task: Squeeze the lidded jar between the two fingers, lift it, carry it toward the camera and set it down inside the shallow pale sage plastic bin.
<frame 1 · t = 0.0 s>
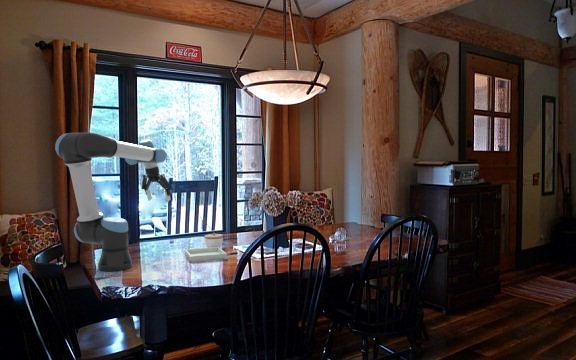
hand: (159, 200, 245), 28 cm above the table, tool tilted 20°, fingers open, 13 cm apart
sage bin: (205, 257, 218), on the table
lidded jar: (213, 249, 240), on the table
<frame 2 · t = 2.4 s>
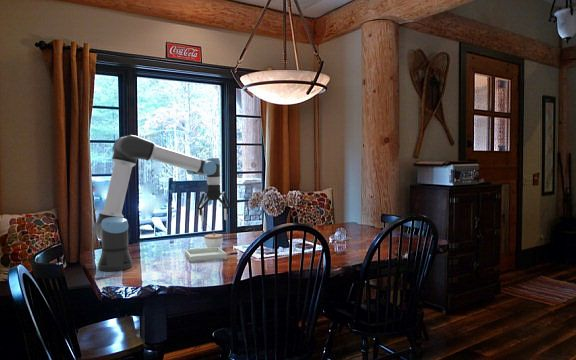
hand: (214, 220, 239), 16 cm above the table, tool pointing down, fingers open, 13 cm apart
nothing on the table moved.
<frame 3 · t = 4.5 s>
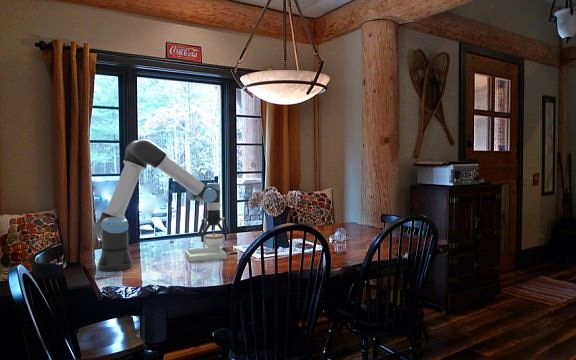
hand: (213, 246, 240), 1 cm above the table, tool pointing down, fingers closed on lidded jar, 11 cm apart
lidded jar: (213, 248, 240), on the table, touching gripper
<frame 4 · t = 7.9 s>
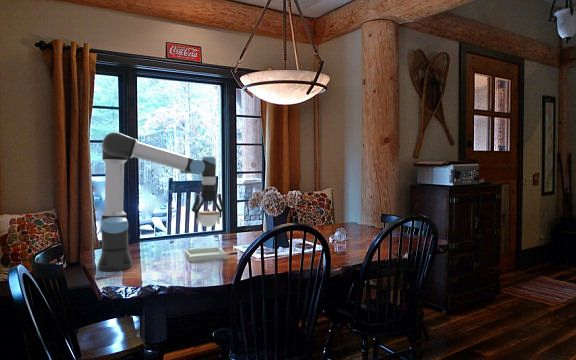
hand: (208, 224, 227), 16 cm above the table, tool pointing down, fingers closed on lidded jar, 11 cm apart
lidded jar: (208, 226, 227), point 15 cm above the table, touching gripper
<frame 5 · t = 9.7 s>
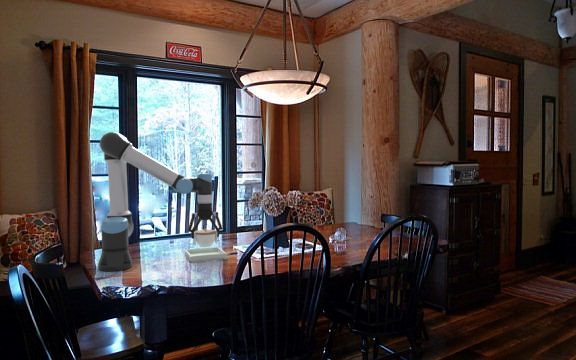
hand: (205, 243, 218), 7 cm above the table, tool pointing down, fingers closed on lidded jar, 11 cm apart
lidded jar: (205, 246, 218), point 6 cm above the table, touching gripper
when the fingers open (3 cm above the table, at t = 11.1 s): lidded jar drops 1 cm, resting on sage bin.
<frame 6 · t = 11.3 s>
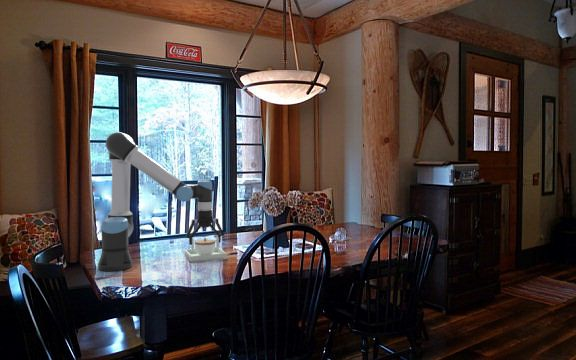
hand: (205, 249, 218), 4 cm above the table, tool pointing down, fingers open, 13 cm apart
lidded jar: (205, 255, 218), point 1 cm above the table, touching sage bin
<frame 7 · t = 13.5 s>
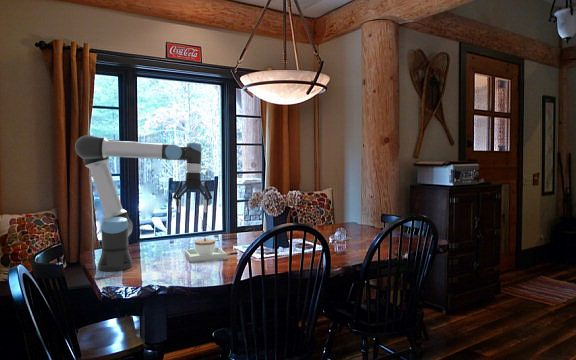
hand: (192, 212, 216), 24 cm above the table, tool pointing down, fingers open, 13 cm apart
nothing on the table moved.
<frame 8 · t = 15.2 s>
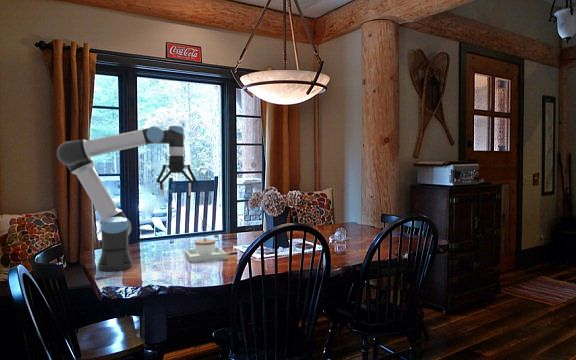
hand: (176, 195, 215), 33 cm above the table, tool pointing down, fingers open, 13 cm apart
nothing on the table moved.
at the end: lidded jar inside the target area on the sage bin (0.0 cm from its centre), point 0.6 cm above the sage bin's base; lidded jar tilted 0°; the gripper is holding nothing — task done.
